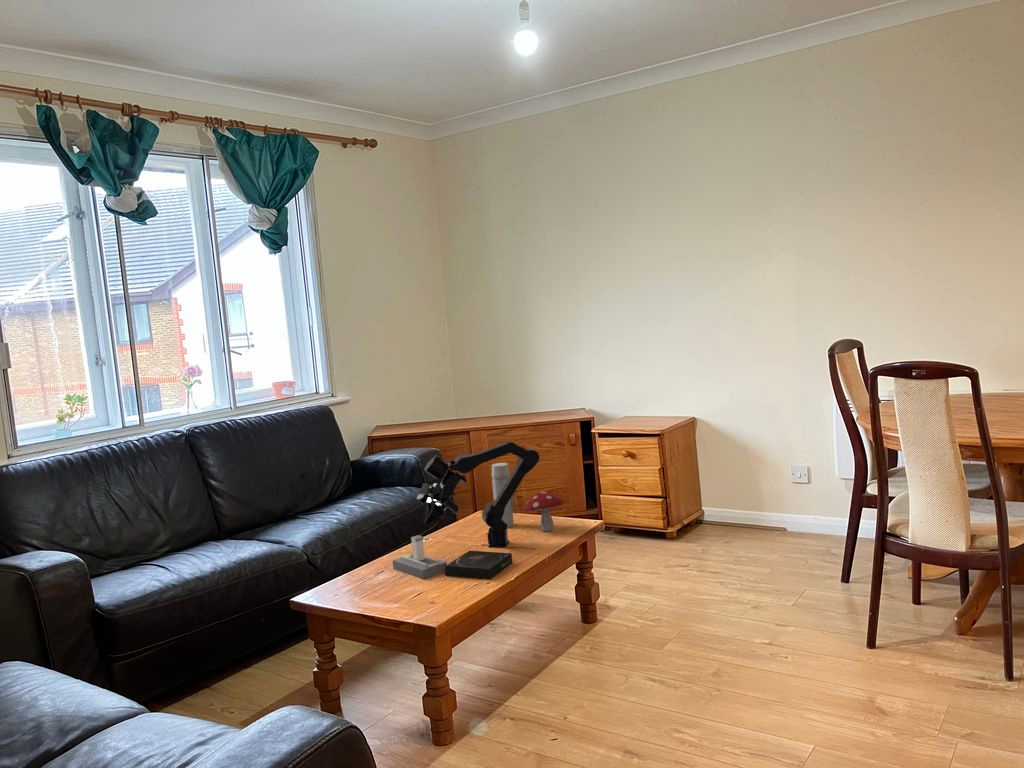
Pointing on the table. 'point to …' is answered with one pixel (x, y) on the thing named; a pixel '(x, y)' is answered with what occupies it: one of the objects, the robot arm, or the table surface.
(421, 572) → the breaker housing
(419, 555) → the breaker handle
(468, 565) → the portable cd player
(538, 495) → the decorative mushroom
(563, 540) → the table surface
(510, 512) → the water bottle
